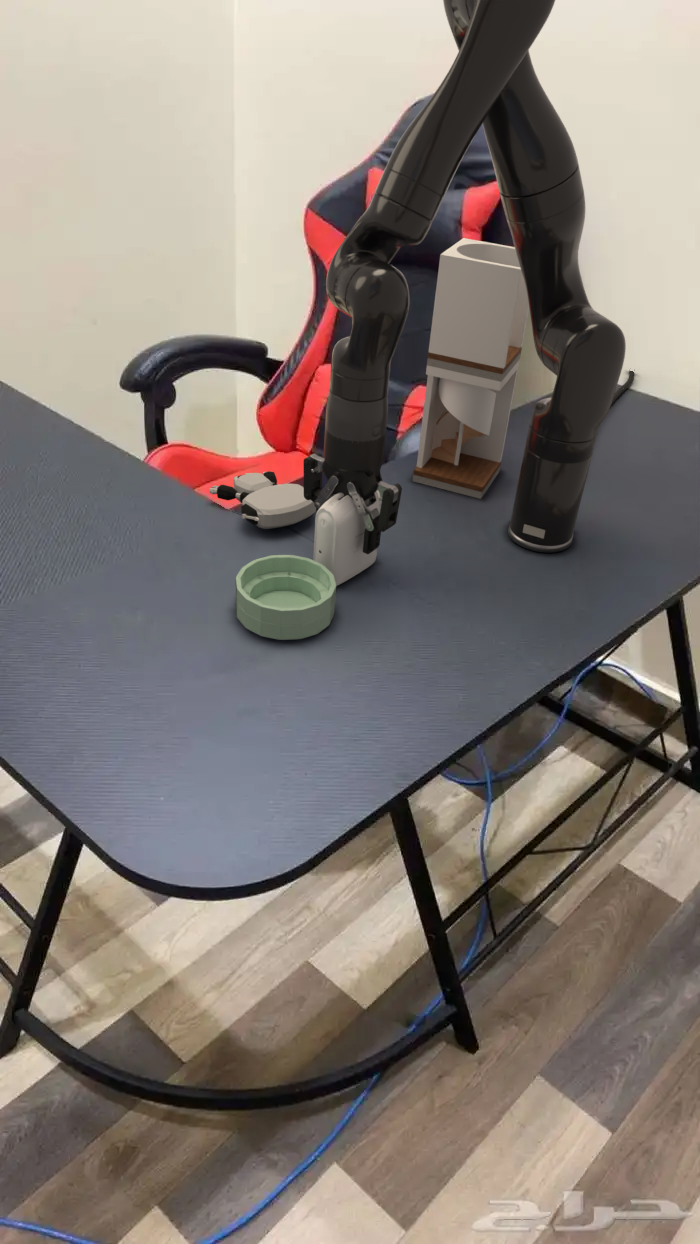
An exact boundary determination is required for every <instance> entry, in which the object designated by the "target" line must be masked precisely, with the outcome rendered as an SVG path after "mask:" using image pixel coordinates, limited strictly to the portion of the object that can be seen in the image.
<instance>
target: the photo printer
mask: <svg viewBox="0 0 700 1244" xmlns="http://www.w3.org/2000/svg"><path fill="white" fill-rule="evenodd" d="M376 492H377V494H378V497H379V498H380V493H379V491H378V490H377V491H376ZM364 503H365V505H367V504H368V503H369V499H367V500H366V501H364ZM380 503H382V501H380ZM380 509H381V504H380ZM371 515H372V513H371ZM372 518H373V516H372ZM373 519H374V518H373ZM365 529H366V526H365V523H364V520H363V518H362V516H361V515H359V514H358V512H357V509H356V506H355V504H354V501H353V500H352V498H351V497H350V496H349V495H346V496H345V497H344V494H343V493H337V494H336V495H334V496H333V497H331V498H330V499H329V500H327V501H326V502H325V503H324V504H323V505H322V506H321V507H320V509H319V510H318V511H317V513H316V512H315V518H314V537H313V538H314V540H313V556H312V557H313V559H312V560H314V561H316V562H318V563H320V564H322V565H324V566H325V567H326V568H327V569H328V570H329V571H330V572H331V573H332V574H333V575H334V579H335V582H336V587H338V586H339V585H341V584H343V583H345V582H347V581H349V580H350V579H352V578H354V577H356V575H359V574H361V573H362V572H363V571H365V570H366V569H368V568H369V567H371V566H372V565H373V564H375V562H376V560H377V557H378V555H377V554H378V548H377V549H375V550H374V551H373V552H371V553H370V554H366V553H363V542H364V531H365Z"/></svg>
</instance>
